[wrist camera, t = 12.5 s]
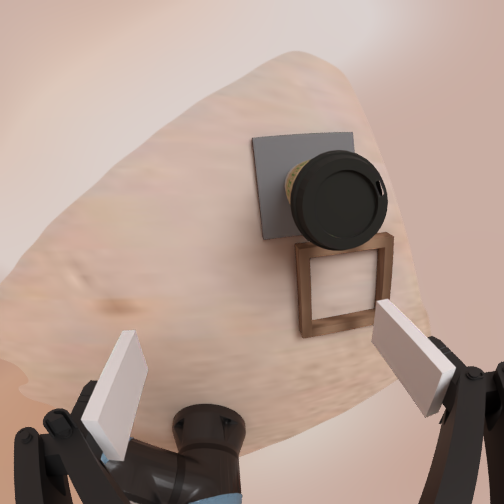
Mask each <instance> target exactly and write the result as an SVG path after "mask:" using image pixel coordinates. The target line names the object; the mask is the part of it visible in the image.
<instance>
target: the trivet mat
mask: <svg viewBox="0 0 504 504" xmlns="http://www.w3.org/2000/svg"><path fill="white" fill-rule="evenodd" d="M252 141H253V150H254V159H255V168H256V176H257V185H258V195H259V204H260V213H261V222H262V232H263V239H264V240H266V239H274V238H282V237H290V236H298V235H302V234H301V233H300V231H299V230H298V228H297V227H296V225H295V223H294V220H293V217H292V213H291V207H290V204H289V201H288V198H287V195H286V191H285V179H286V176H287V174H288V172H289V171H290V170H291V169H292V168H293V167H294V166H296V165H298V164H300V163H302V162H304V161H307V160H310V159H313V158H314V157H316V156H317V155H319V154H322V153H325V152H327V151H333V150H345V151H350V152H353V153H355V152H354V140H353V132H333V133H309V134H293V135H279V136H268V137H257V138H252Z"/></svg>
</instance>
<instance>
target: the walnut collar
mask: <svg viewBox="0 0 504 504" xmlns="http://www.w3.org/2000/svg"><path fill="white" fill-rule="evenodd" d="M393 246H394V236H392V235H390V234H389V233H387V232H383V233H376V234H375V235H374V236H373V237H372V238H371V239H370V240H369V241H367V242H366V243H365V244H363V245H361V246H358V247H356V248H352V249H348V250H344V251H332V250H327V249H323V248H321V247H318V246H316V245H314V244H312V243H311V242H305V243H297V244H295V252H296V268H297V285H298V305H299V327H300V332H301V335H302V338H308V337H314V336H319V335H325V334H330V333H335V332H340V331H345V330H350V329H355V328H360V327H364V326H369V325H373V324H374V318H375V309H376V301H379V300H384V299H389V300H390V290H391V279H392V265H393ZM376 248H378V260H377V280H376V295H375V307H374V309H369V310H364V311H360V312H355V313H349V314H344V315H339V316H334V317H328V318H323V319H317V320H312V309H311V277H310V258H313V257H320V256H327V255H334V254H342V253H349V252H356V251H362V250H369V249H376Z"/></svg>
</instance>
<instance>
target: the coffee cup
mask: <svg viewBox="0 0 504 504" xmlns="http://www.w3.org/2000/svg"><path fill="white" fill-rule="evenodd" d="M379 181H380V182H379ZM380 183H381V185H380ZM381 186H382V189H383V192H384V194H383V196H382V189H381ZM285 191H286V195H287V198H288V201H289V204H290V207H291V213H292V217H293V220H294V223H295V225H296V227H297V228H298V230H299V231H300V233H301V234H302V235H303V236H304V237H305V238H306V239H307V240H308V241H310V242H311V243H312V244H314V245H316V246H318V247H321V248H323V249H327V250H332V251H344V250H348V249H352V248H356V247H358V246H361V245H363V244H365V243H366V242H367V241H369V240H370V239H371V238H372V237H373V236H374V235H375V234H376V233H377V232H378V230H379V229H380V228H381V226H382V224H383V222H384V219H385V216H386V212H387V205H388V199H387V192H386V188H385V185H384V182H383V180H382V178H381V176H380V174H379V172H378V171H377V170H376V168H375V167H374V166H373V165H372V164H371V163H370V162H369V161H368V160H367V159H365V158H364V157H362V156H360V155H358V154H356V153H353V152H350V151H345V150H333V151H327V152H325V153H322V154H319V155H317V156H316V157H314V158H313V159H310V160H307V161H304V162H302V163H300V164H298V165H296V166H294V167H293V168H292V169H291V170H290V171H289V172H288V174H287V176H286V179H285Z"/></svg>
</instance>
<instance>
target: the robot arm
mask: <svg viewBox="0 0 504 504" xmlns="http://www.w3.org/2000/svg"><path fill="white" fill-rule="evenodd" d="M372 343H373V344H374V346H375V347H376V348H377V350H378V351H379V352H380V354H381V355H382V357H383V358H384V359H385V361H386V362H387V364H388V365H389V366H390V368H391V369H392V371H393V372H394V373H395V375H396V376H397V378H398V379H399V380H400V382H401V383H402V385H403V386H404V387H405V389H406V390H407V392H408V393H409V395H410V396H411V397H412V399H413V401H414V402H415V403H416V405H417V406H418V408H419V409H420V411H421V412H422V414H423V415H424V417H425V418H426V417H428V416H430V415H433V414H435V413H437V412H438V411H439V409H440V407H441V405H442V404H443V405H444V406H445V408H446V410H445V412H444V414H443V416H442V418H441V420H440V423H439V424H441V423H442V425H441V429H440V434H439V438H438V442H437V446H436V450H435V454H434V457H433V461H432V465H431V468H430V471H429V474H428V477H427V481H426V484H425V487H424V489H423V492H422V495H421V498H420V501H419V503H418V504H472V500H473V495H474V491H475V486H476V481H477V475H478V469H479V464H480V457H481V450H482V441H483V436H484V441H485V448H486V456H487V464H488V474H489V484H490V504H504V362H501V363H499V364H498V366H497V368H496V371H493V372H486V373H484V372H483V371H482V370H481V369H479V368H477V367H474V366H470V367H469V366H468V367H466V366H465V364H463V362H462V361H461V360H460V359H459V358H458V357H457V356H456V355H455V354H454V353H453V352H451V350H450V349H449V348H447V347H446V345H445V344H444V343H443V342H442V341H441V340H439V339H437V338H435V337H433V336H431V337H426V336H425V335H424V334H423V333H422V332H421V331H420V330H419V329H418V328H417V327H416V326H415V325H414V324H413V323H412V322H411V321H410V320H409V319H408V318H407V317H406V316H405V315H404V314H403V313H402V312H401V311H400V310H399V309H398V308H397V307H396V306H395V305H394V304H393V303H392V302H391V301H390V300H389V299H384V300H379V301H376V309H375V318H374V327H373V334H372ZM147 373H148V367H147V364H146V361H145V358H144V355H143V352H142V349H141V346H140V343H139V340H138V336H137V333H136V330H125V331H122V333H121V335H120V337H119V339H118V341H117V343H116V345H115V347H114V349H113V351H112V353H111V355H110V357H109V359H108V361H107V363H106V365H105V367H104V369H103V371H102V374H101V376H100V378H99V380H98V381H92V380H91V381H90V382H89V383H88V384H87V385H85V386H84V388H83V390H82V392H81V394H80V396H79V398H78V400H77V402H76V404H75V406H74V408H73V410H72V413H71V415H70V414H69V412H68V411H67V410H65V409H54V410H52V411H50V412H48V413H47V414H46V416H45V417H44V419H43V425H44V427H45V428H46V429H47V431H48V432H49V434H40V435H39V434H38V432H37V431H36V430H35V429H34V428H32V427H25V428H23V429H21V430H20V431H18V433H17V434H16V436H15V442H14V485H15V500H16V504H73V502H72V497H71V493H70V488H69V483H68V477H67V475H69V477H70V479H71V481H72V483H73V485H74V487H75V489H76V491H77V493H78V495H79V497H80V499H81V501H82V502H83V504H241V503H242V494H241V484H240V471H239V453H240V450H241V447H242V444H243V441H244V439H245V434H246V430H245V422H244V420H243V418H242V417H241V416H240V415H239V414H238V413H236V412H235V411H233V410H231V409H229V408H226V407H223V406H219V405H212V404H199V405H193V406H189V407H186V408H184V409H182V410H181V411H179V412H178V413H177V414H176V416H175V417H174V421H173V434H174V438H175V441H176V445H177V448H178V453H175V452H172V451H168V450H165V449H162V448H159V447H156V446H153V445H150V444H148V443H145V442H142V441H139V440H137V439H134V437H130V434H131V430H132V426H133V422H134V419H135V415H136V411H137V408H138V404H139V400H140V397H141V393H142V390H143V386H144V383H145V380H146V376H147Z"/></svg>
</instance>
